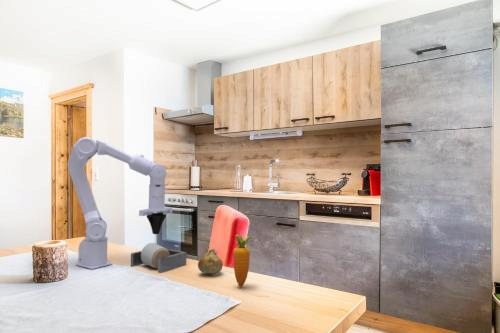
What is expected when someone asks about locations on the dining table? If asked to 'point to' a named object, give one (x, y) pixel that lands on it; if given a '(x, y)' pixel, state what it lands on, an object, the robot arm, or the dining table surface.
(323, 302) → the dining table surface
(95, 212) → the robot arm
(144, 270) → the dining table surface
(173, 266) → the grey u-shaped piece
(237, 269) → the carrot
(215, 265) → the onion
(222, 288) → the dining table surface
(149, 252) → the ceramic mug
